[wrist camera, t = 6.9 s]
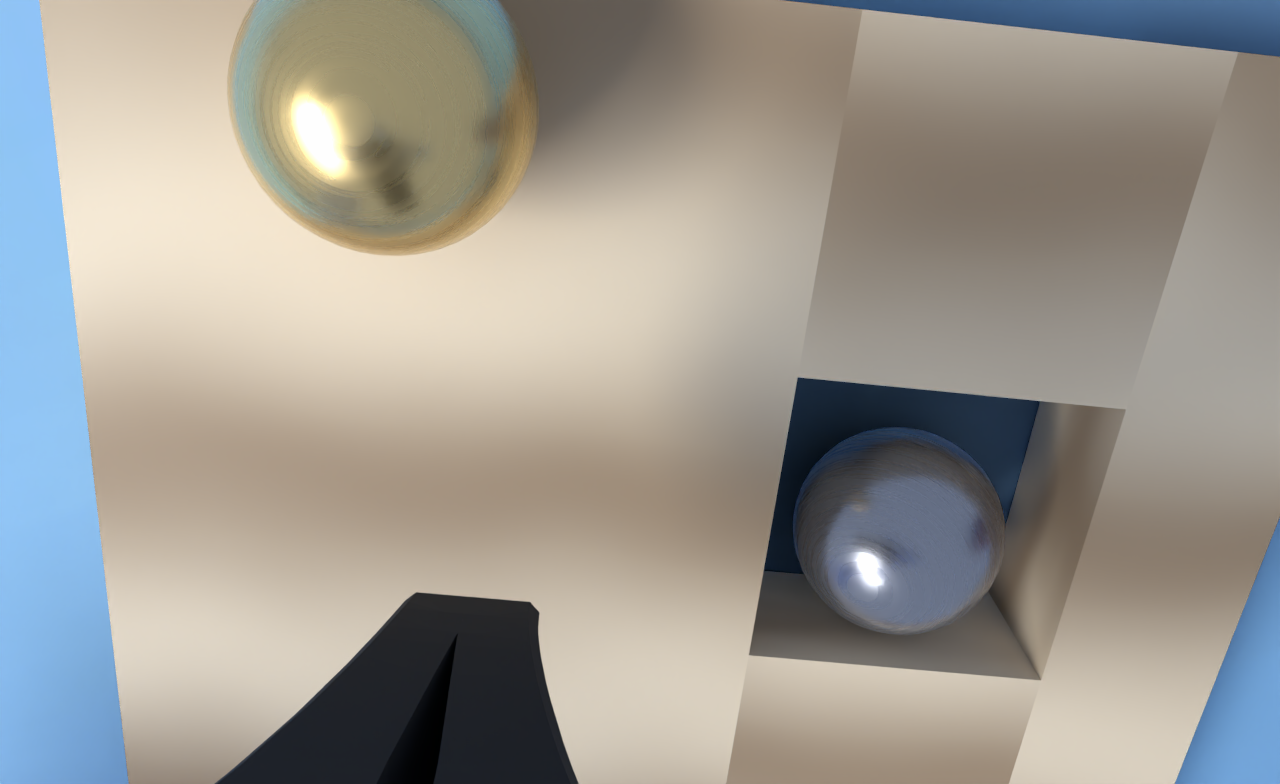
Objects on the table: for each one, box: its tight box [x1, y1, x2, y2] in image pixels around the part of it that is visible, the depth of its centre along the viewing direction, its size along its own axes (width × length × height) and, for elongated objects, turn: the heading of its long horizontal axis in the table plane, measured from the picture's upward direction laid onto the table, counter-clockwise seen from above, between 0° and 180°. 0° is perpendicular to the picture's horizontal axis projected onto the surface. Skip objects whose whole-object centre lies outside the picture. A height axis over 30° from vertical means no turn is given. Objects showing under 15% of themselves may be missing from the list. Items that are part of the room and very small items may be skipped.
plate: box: [39, 0, 1280, 784], centre depth 15 cm, size 15×17×2 cm
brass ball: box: [227, 0, 539, 256], centre depth 10 cm, size 3×3×3 cm
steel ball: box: [793, 427, 1006, 635], centre depth 15 cm, size 3×3×3 cm
